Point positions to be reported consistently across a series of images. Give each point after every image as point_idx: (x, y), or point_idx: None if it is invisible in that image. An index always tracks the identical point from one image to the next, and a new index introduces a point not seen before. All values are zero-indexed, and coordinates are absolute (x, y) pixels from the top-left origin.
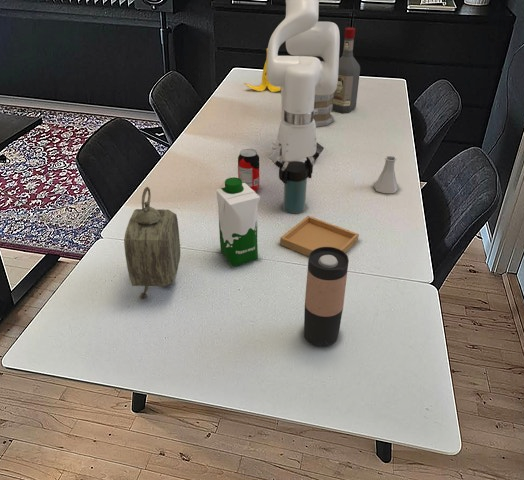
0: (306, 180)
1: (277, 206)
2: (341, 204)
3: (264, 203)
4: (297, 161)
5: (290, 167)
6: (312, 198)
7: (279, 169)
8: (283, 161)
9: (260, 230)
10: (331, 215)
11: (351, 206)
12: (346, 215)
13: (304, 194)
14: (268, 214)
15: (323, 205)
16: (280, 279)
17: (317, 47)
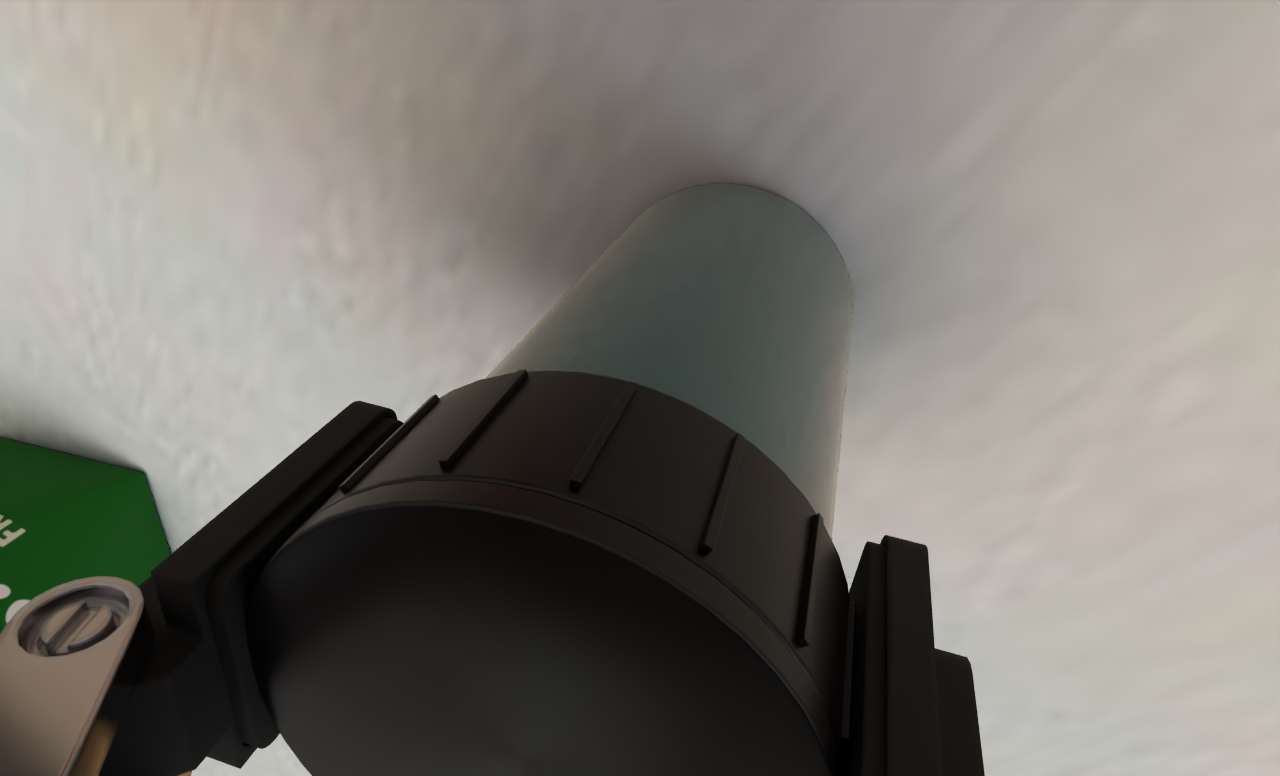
0: None
1: (583, 170)
2: (1226, 565)
3: (482, 13)
4: (719, 637)
5: (385, 698)
6: (1078, 271)
7: (145, 597)
8: (87, 759)
9: (282, 402)
10: (937, 613)
11: (1269, 648)
12: (1054, 693)
13: None
14: (428, 247)
15: (1038, 460)
16: (256, 752)
17: None
